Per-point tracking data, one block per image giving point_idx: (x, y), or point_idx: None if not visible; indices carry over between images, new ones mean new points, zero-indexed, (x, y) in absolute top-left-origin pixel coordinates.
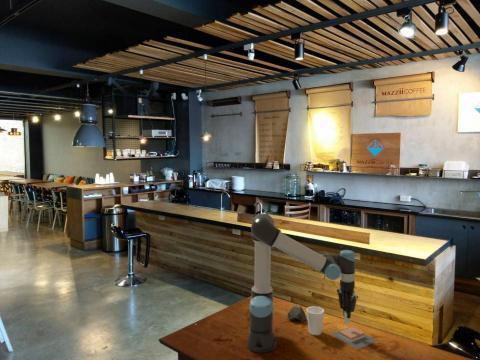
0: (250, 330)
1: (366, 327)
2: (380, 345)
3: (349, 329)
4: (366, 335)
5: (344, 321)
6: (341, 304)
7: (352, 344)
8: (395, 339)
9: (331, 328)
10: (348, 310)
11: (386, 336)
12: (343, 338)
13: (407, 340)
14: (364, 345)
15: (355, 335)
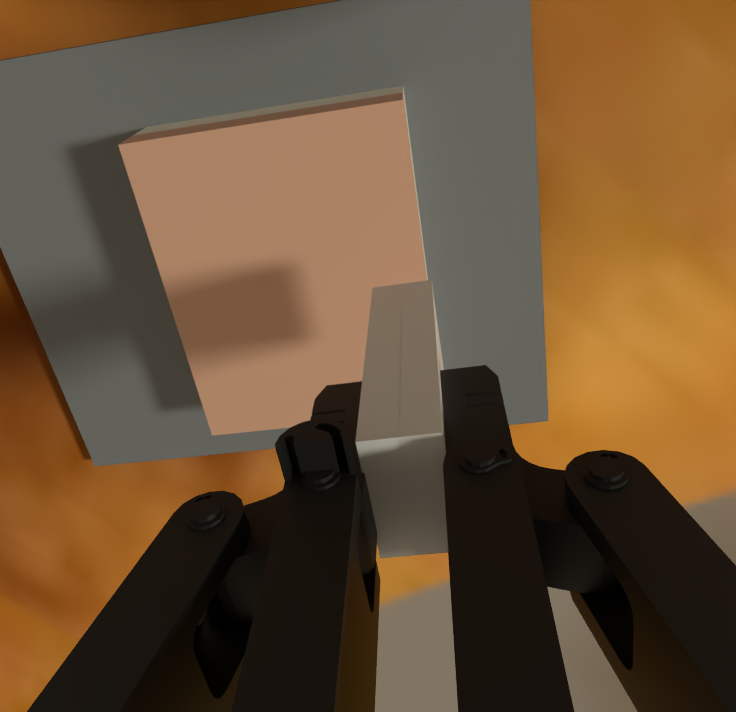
0: None
1: (448, 568)
2: (20, 435)
3: None
4: (254, 444)
5: (419, 297)
6: (620, 563)
7: (83, 106)
8: None
9: (704, 149)
10: (279, 518)
11: None
12: (299, 95)
13: None
14: (20, 254)
15: (174, 268)
